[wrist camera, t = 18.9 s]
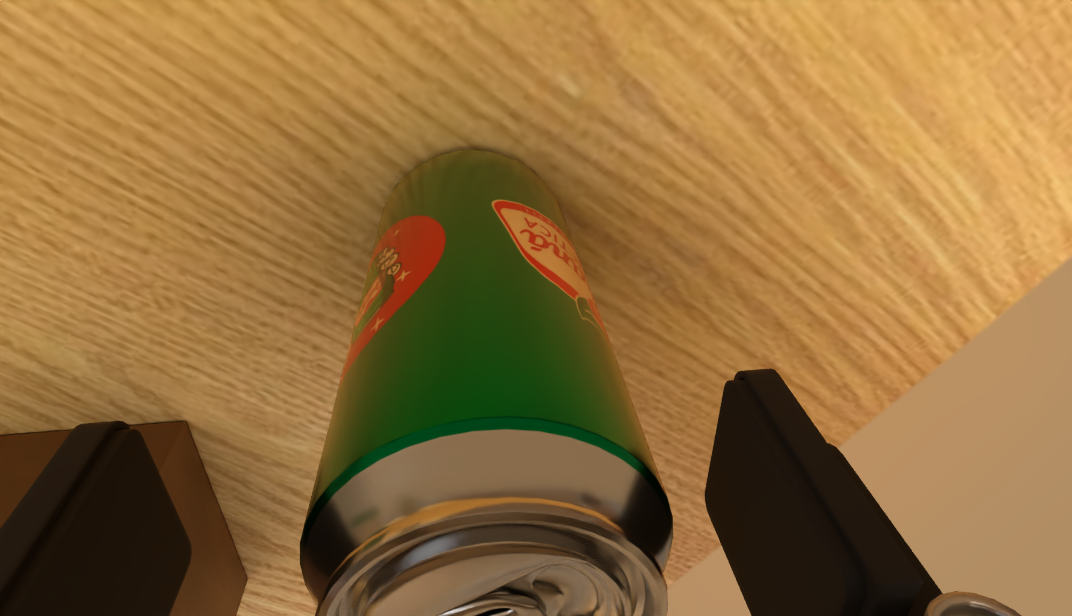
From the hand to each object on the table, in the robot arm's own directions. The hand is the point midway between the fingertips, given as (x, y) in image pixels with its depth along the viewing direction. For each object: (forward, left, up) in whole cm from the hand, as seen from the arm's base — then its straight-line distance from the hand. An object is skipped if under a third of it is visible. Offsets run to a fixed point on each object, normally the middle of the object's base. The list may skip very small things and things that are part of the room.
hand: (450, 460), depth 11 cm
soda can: (0, -1, -9) cm, 9 cm away
